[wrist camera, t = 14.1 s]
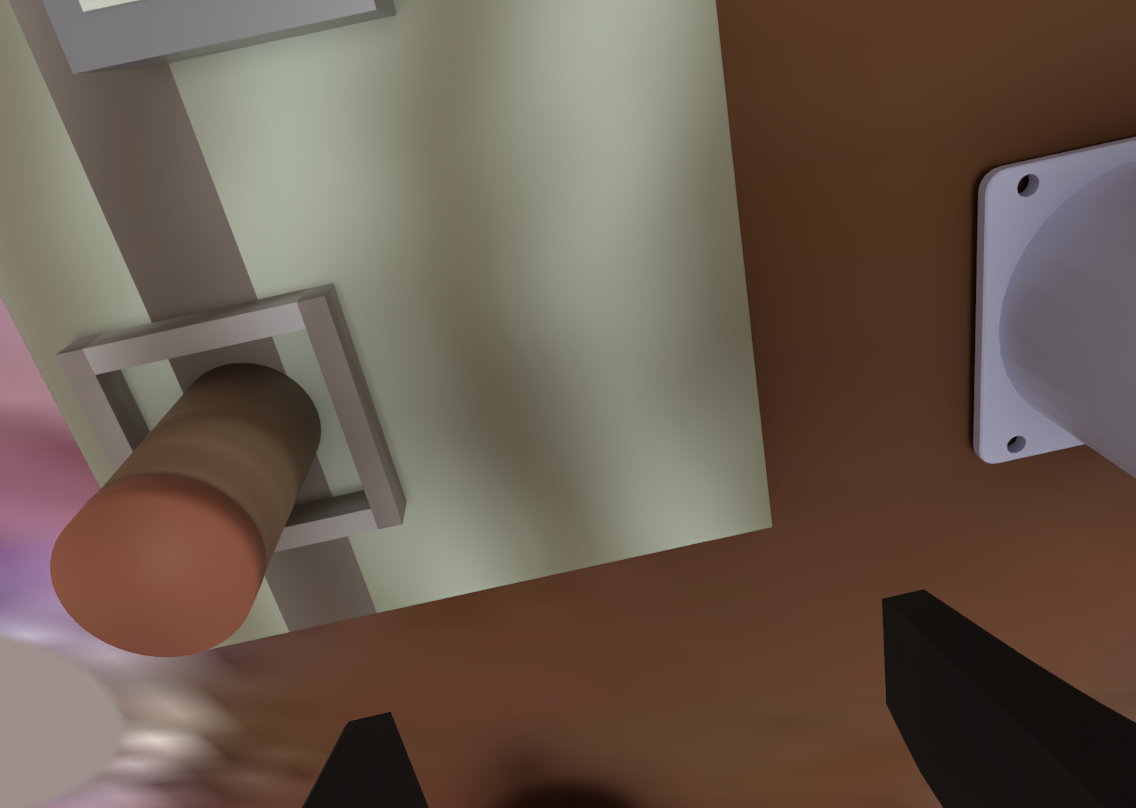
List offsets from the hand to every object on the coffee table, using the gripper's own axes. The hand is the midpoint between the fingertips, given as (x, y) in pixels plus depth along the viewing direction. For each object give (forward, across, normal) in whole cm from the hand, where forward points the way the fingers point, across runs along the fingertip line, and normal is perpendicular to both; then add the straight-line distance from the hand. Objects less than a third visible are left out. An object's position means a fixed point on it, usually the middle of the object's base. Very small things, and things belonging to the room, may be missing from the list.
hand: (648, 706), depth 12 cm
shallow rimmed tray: (+10, +3, -6) cm, 12 cm away
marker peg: (+9, +8, -2) cm, 12 cm away
